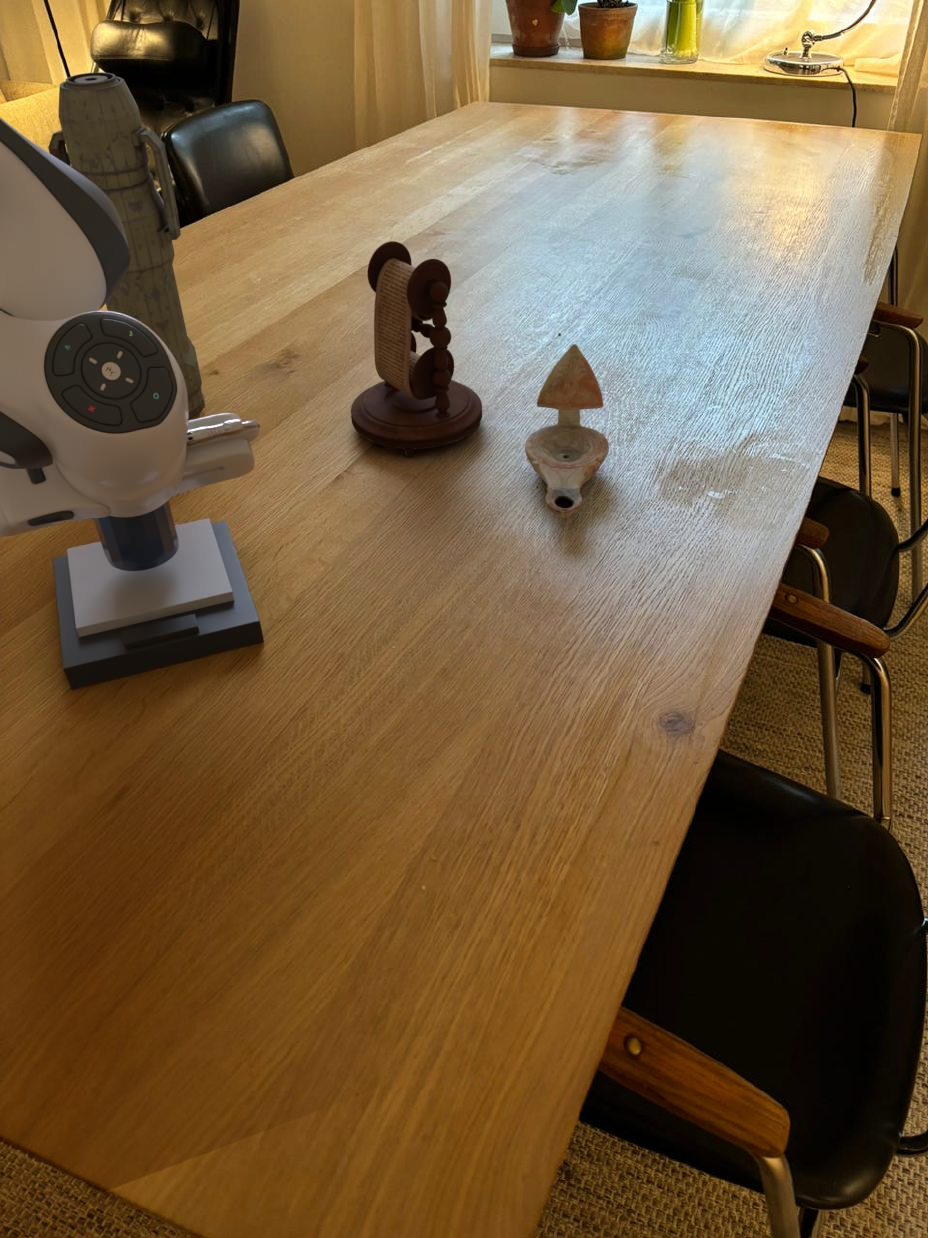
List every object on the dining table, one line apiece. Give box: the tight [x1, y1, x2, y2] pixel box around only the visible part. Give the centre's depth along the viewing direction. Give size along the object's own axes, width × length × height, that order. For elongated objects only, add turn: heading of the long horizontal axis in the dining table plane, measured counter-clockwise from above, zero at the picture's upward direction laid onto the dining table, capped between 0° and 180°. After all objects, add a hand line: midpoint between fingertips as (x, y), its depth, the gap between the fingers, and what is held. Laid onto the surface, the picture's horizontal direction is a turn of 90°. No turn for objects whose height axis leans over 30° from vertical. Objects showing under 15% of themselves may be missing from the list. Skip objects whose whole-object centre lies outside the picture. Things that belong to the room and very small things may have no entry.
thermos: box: [47, 71, 205, 419], centre depth 106 cm, size 9×12×35 cm
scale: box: [52, 517, 265, 691], centre depth 88 cm, size 16×16×3 cm
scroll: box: [350, 240, 483, 459], centre depth 106 cm, size 15×15×20 cm
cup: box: [92, 500, 179, 571], centre depth 84 cm, size 6×6×9 cm
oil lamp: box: [524, 343, 610, 519], centre depth 101 cm, size 9×21×10 cm, turn 173°
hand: (127, 499), depth 84 cm, fingers closed on cup, 6 cm apart
